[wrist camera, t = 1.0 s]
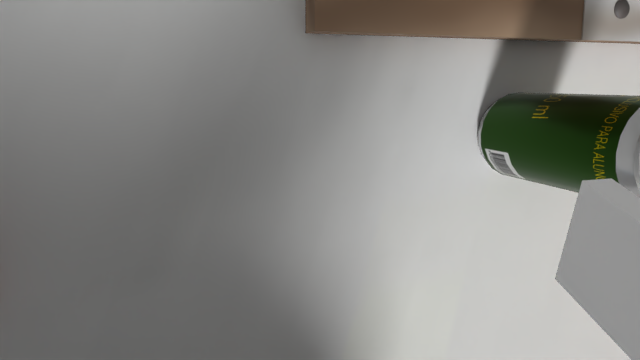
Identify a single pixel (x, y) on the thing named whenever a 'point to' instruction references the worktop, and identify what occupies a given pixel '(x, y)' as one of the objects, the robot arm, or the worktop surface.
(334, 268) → the worktop surface
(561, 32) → the walnut board
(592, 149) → the beer can
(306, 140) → the worktop surface
